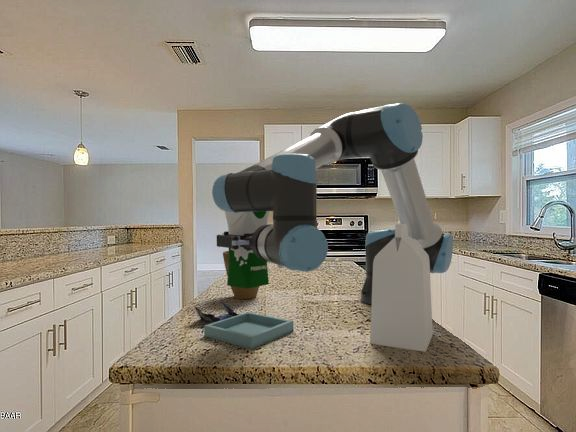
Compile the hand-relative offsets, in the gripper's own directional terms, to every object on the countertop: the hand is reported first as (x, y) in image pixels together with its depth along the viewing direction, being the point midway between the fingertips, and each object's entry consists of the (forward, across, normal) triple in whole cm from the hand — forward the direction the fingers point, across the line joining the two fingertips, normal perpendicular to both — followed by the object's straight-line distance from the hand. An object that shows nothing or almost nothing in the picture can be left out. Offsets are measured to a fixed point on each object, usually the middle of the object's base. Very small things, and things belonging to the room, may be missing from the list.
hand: (242, 237), depth 94 cm
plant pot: (+35, +11, -23) cm, 43 cm away
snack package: (+9, -4, -23) cm, 25 cm away
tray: (-4, 0, -23) cm, 23 cm away
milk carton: (-5, 0, -11) cm, 12 cm away
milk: (-23, +31, -23) cm, 44 cm away
